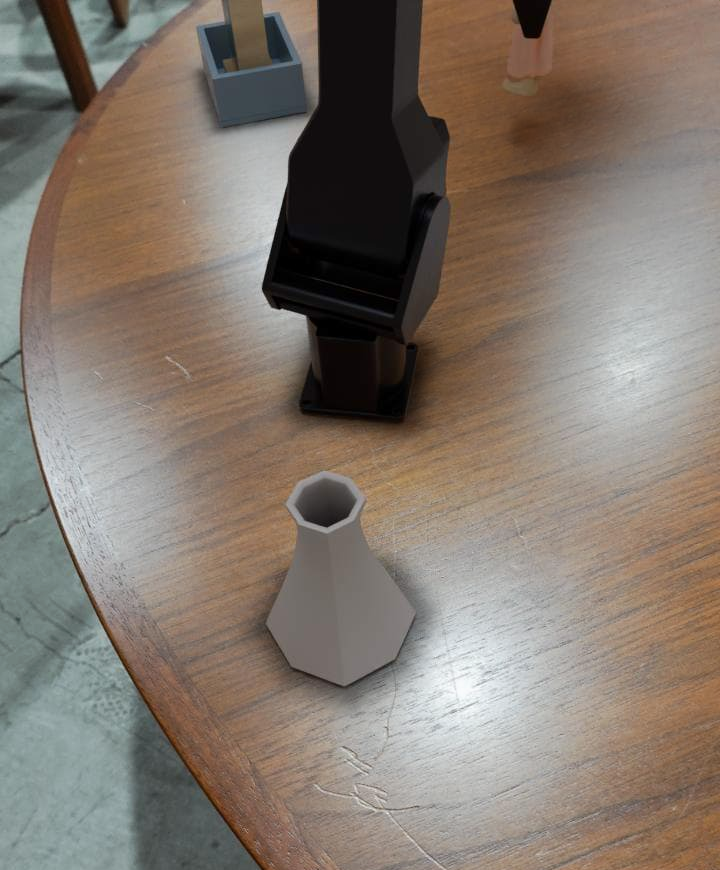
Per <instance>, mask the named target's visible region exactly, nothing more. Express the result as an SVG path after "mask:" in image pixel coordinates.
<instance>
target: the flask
mask: <svg viewBox="0 0 720 870" xmlns="http://www.w3.org/2000/svg"><path fill="white" fill-rule="evenodd" d="M366 504H367V499H366V496H365V495H364V494H363V492H362V491H361V490H360V488H359V487H358V486H357V484H356V483H355V482H354V480H353V479H352V478H351V477H349V476H345V475H341V474H338V473H335V472H332V471H328V470H325V469H323V470H321V471H319V472H317V473H315V474H312V475H311V476H309V477H307V478H304V479H302V480H300V481H298V482H297V484H296V485H295V487H294V489H293V491H292V492H291V493H290V495H289V497H288V499H287V501H286V502H285V505H284V506H285V509H286V510H287V512H288V513H289V515H290V517H291V518H292V519H293V521H294V522H295V525H296V540H295V547H294V555H293V557H292V561H291V563H290V566H289V568H288V571H287V574H286V577H285V578H284V581H283V584H282V586H281V588H280V591H279V592H278V595H277V596H276V599H275V601H274V604H273V605H272V608H271V610H270V612H269V614H268V617H267V619H266V622H265V625H266V627H267V628H268V630H269V631H270V633H271V635H272V636H273V638H274V640H275V642H276V643H277V645H278V647H279V649H280V651H281V652H282V654H283V655H284V657H285V658H286V660H287V662H288V663H289V665H290V668H293V669H296V670H299V671H302V672H305V673H307V674H309V675H312V676H315V677H318V678H320V679H323V680H325V681H328V682H331V683H334V684H337V685H339V686H342V687H347V686H348V685H350V684H352V683H354V682H356V681H357V680H360V679H361V678H363V677H365V676H367V675H369V674H370V673H372V672H374V671H376V670H377V669H379V668H382V667H383V666H385V665H387V664H389V663H391V662H392V661H395V660H396V659H397V657H398V654H399V652H400V649H401V647H402V645H403V643H404V641H405V639H406V637H407V635H408V631H409V629H410V628H411V625H412V623H413V620H414V619H415V616H416V614H417V612H416V610H415V609H414V607H413V605H412V604H411V603H410V602H409V599H407V597H406V596H405V594H404V593H403V592H402V590H401V589H400V587H399V586H398V585H397V584H396V582H395V580H394V579H393V578H392V576H391V575H390V573H389V572H388V571H387V570H386V568H385V567H384V565H383V564H382V563H381V561H379V559H378V558H377V557H376V556H375V554H374V552H372V550H371V548H370V546H369V543H368V541H367V538H366V535H365V533H364V531H363V528H362V522H361V514H362V512H363V510H364V508H365V506H366Z"/></svg>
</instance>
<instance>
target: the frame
mask: <svg viewBox="0 0 720 870" xmlns="http://www.w3.org/2000/svg"><path fill="white" fill-rule="evenodd" d="M220 1H221V6H222V13H223V17H224V18H223V19H224V21H225V25H226V31H227V37H228V43H229V49H230V55H231V59H226V60H223V67H224V72H225V73H230V72H235V71H241V70H246V69H252V68H257V67H263V66H269V65H273V63H272V61H271V58H270V56H269V53H268V46H267V39H266V31H265V23H264V16H263V14H264V10H263V9H264V8H263V1H262V0H220Z"/></svg>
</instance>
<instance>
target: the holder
mask: <svg viewBox="0 0 720 870" xmlns="http://www.w3.org/2000/svg"><path fill="white" fill-rule="evenodd" d="M263 16H264V23H265V31H266V39H267V46H268V53H269V56H270V58H271V61H272V63H273V65H269V66H263V67H257V68H252V69H246V70H241V71H235V72H230V73H225V72H224V67H223V60H226V59H231V55H230V49H229V43H228V37H227V31H226V25H225V20H224V21H217V22H211V23H206V24H201V25H196V26H195V29H196V33H197V34H196V35H197V40H198V46H199V51H200V55H201V61H202V65H203V71H204V76H205V79H206V82H207V85H208V89H209V92H210V96H211V99H212V101H213V105H214V108H215V112H216V115H217V118H218V122H219V125H220V127H221V128H227V127H231V126H237V125H243V124H248V123H253V122H254V123H255V122H259V121H265V120H269V119H270V120H271V119H275V118H281V117H285V116H292V115H296V114H303V113H306V112H307V111H308V109H307V100H306V90H305V79H304V71H303V69H304V68H303V63H302V60H301V58H300V56H299V53H298V51H297V49H296V48H295V47H296V46H295V44H294V42H293V40H292V38H291V35H290V33H289V31H288V29H287V27H286V24H285V21H284V20H283V18H282V15H281V13H280V11H274V12H269V13H263Z"/></svg>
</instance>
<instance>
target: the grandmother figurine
mask: <svg viewBox="0 0 720 870" xmlns="http://www.w3.org/2000/svg"><path fill="white" fill-rule="evenodd" d="M553 20H554V19H553V1H552V2H551V5H550V8H549V11H548V14H547V17H546V21H545V24H544V27H543V30H542V33H541V36H540V37H539V38H538V39H527V38H525V37H524V36H523V32H522V29H521V26H520V23H519V20H518V16H517V13H516V10H515V8H514V9H513V10H512V12H511V22H512V23H513V24H515V25H514V27H513V32H512V33H513V34H512V40H511V46H510V50H509V55H508V60H507V66H506V76H507V77H505V78H504V79H503V80H502V83H501V86H500V87H501V89H503V91H506V92H509V93H512V94H514V95H517V96H522V97H531V96H533V95H535V94H536V93H538V90H539V87H538V84H537V83H538V82H540V81H541V80H543V78H544V76H545V75H548V74H549V73H551V71H552V69H553V55H554V23H553Z"/></svg>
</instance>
